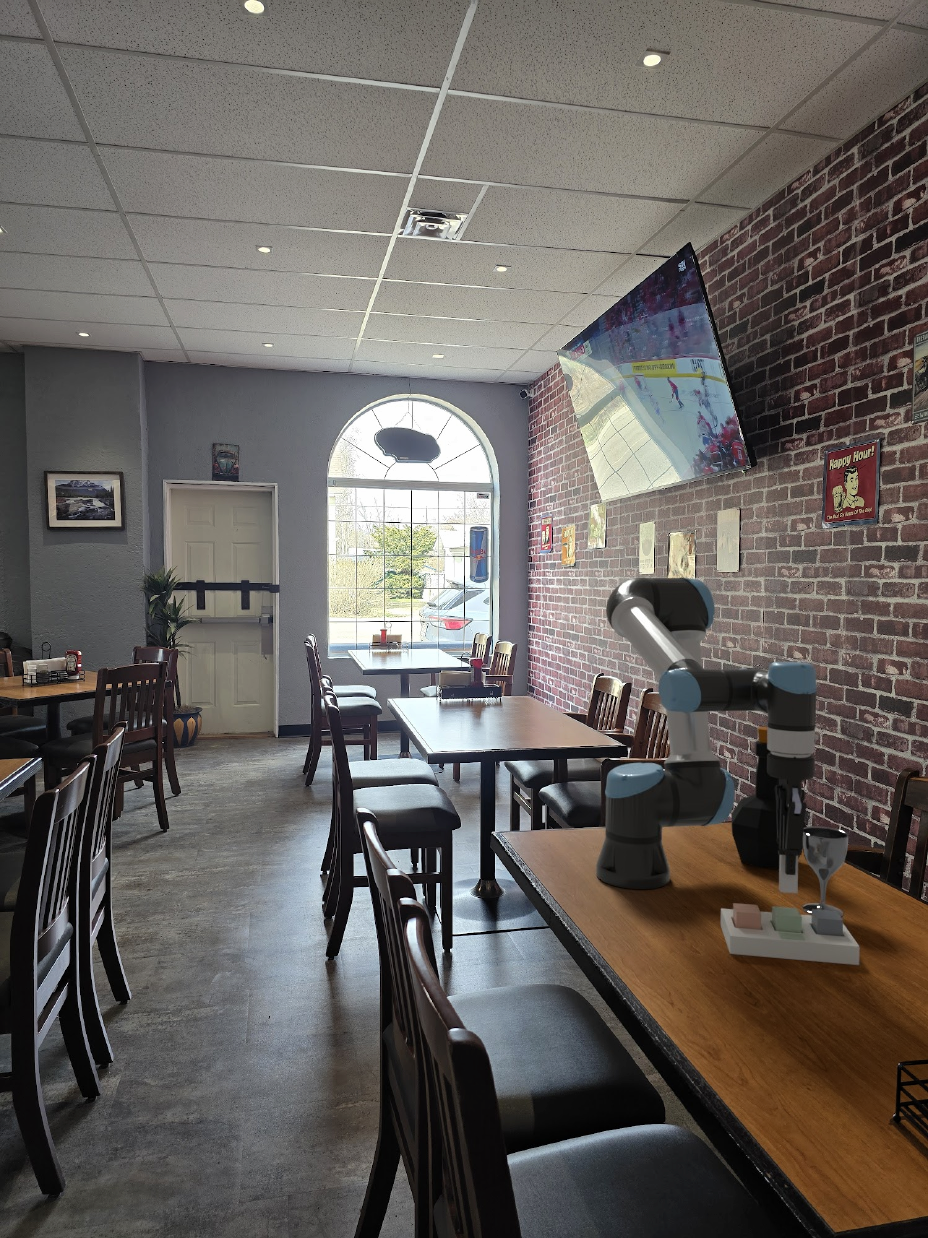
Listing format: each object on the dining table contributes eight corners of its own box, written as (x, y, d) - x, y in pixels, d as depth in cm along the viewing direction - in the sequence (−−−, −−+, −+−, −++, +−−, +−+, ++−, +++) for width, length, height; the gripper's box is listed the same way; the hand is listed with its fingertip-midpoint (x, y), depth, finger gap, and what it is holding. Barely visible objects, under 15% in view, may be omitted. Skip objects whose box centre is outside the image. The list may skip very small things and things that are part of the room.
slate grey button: (817, 937, 136) (817, 918, 136) (811, 927, 140) (811, 909, 140) (842, 939, 135) (843, 920, 135) (836, 929, 139) (836, 911, 139)
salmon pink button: (736, 930, 138) (736, 912, 138) (732, 921, 142) (733, 903, 142) (760, 932, 138) (761, 914, 138) (756, 923, 142) (757, 905, 142)
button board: (730, 953, 135) (730, 934, 135) (720, 925, 147) (720, 907, 147) (859, 965, 131) (859, 945, 131) (838, 934, 143) (839, 916, 143)
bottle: (741, 845, 194) (744, 720, 193) (814, 859, 184) (817, 727, 183) (719, 863, 181) (722, 728, 180) (796, 879, 171) (800, 737, 170)
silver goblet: (845, 907, 156) (847, 829, 155) (845, 922, 149) (848, 841, 148) (800, 900, 159) (802, 824, 159) (799, 914, 152) (801, 835, 152)
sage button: (776, 934, 137) (776, 915, 137) (771, 924, 141) (772, 906, 141) (801, 936, 137) (801, 917, 136) (796, 926, 141) (796, 908, 140)
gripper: (824, 761, 131) (821, 907, 131) (805, 747, 144) (802, 880, 144) (775, 759, 132) (772, 903, 133) (760, 745, 145) (758, 877, 146)
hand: (788, 891), depth 138 cm, fingers closed
